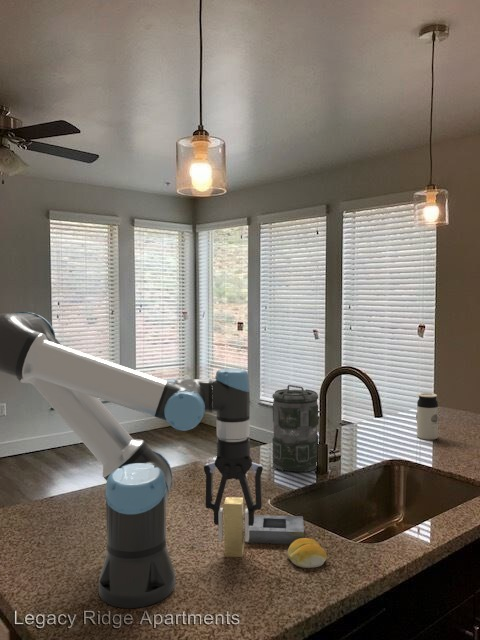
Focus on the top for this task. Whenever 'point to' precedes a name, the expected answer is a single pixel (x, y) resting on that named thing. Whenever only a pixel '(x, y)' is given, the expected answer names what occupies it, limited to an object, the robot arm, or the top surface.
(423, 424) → the travel mug
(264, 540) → the grey slotted block
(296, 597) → the top surface
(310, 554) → the bread roll
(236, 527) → the brass peg
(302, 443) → the canister
